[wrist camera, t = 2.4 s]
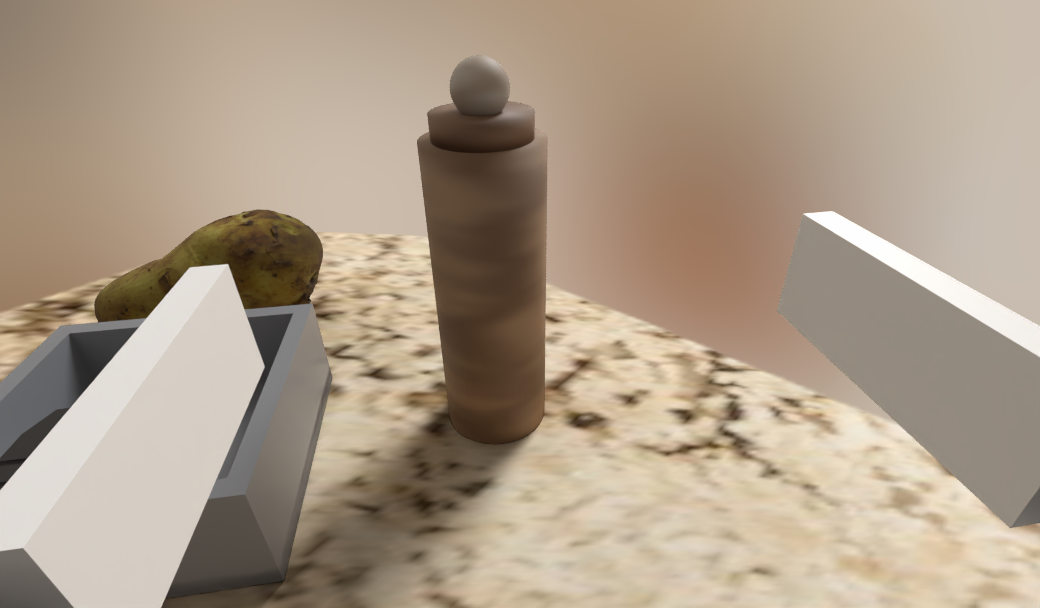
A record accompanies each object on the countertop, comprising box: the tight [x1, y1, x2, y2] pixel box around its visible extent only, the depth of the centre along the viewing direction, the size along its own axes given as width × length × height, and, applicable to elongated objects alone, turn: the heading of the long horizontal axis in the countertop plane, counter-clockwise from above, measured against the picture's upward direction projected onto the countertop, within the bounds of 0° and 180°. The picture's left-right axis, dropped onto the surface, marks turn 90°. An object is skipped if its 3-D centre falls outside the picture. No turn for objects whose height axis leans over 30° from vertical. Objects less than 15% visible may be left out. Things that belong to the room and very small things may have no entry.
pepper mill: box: [417, 55, 547, 444], centre depth 23 cm, size 5×5×17 cm
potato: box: [94, 210, 323, 322], centre depth 32 cm, size 8×13×8 cm, turn 80°
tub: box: [0, 304, 332, 599], centre depth 23 cm, size 12×12×5 cm
